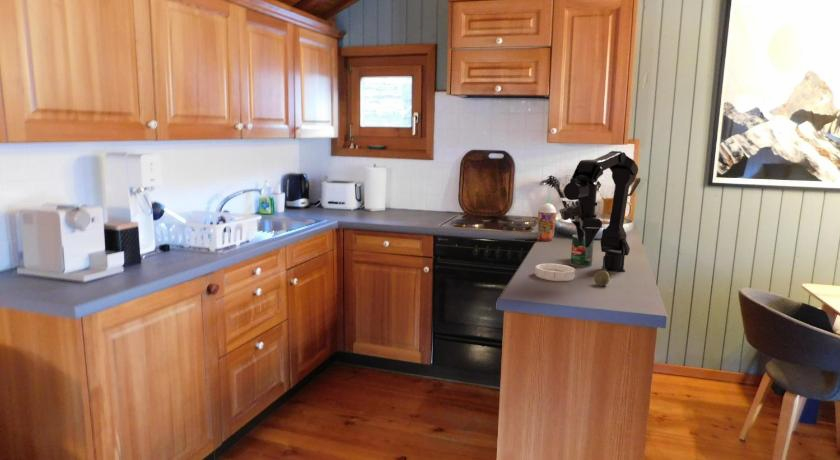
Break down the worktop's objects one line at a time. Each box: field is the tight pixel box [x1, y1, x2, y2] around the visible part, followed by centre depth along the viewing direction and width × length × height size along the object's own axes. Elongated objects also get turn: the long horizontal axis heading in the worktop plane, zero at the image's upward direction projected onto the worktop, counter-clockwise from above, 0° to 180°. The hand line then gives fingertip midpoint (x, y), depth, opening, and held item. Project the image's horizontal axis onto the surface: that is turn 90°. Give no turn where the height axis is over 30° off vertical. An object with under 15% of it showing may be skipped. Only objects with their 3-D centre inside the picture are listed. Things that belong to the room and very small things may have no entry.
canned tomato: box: [570, 233, 595, 268], centre depth 218 cm, size 8×8×11 cm
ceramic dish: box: [534, 263, 576, 282], centre depth 199 cm, size 13×13×3 cm
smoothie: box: [537, 197, 557, 242], centre depth 267 cm, size 8×8×20 cm
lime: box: [594, 269, 611, 286], centre depth 189 cm, size 4×5×5 cm
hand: (583, 244), depth 194 cm, fingers open, 9 cm apart
